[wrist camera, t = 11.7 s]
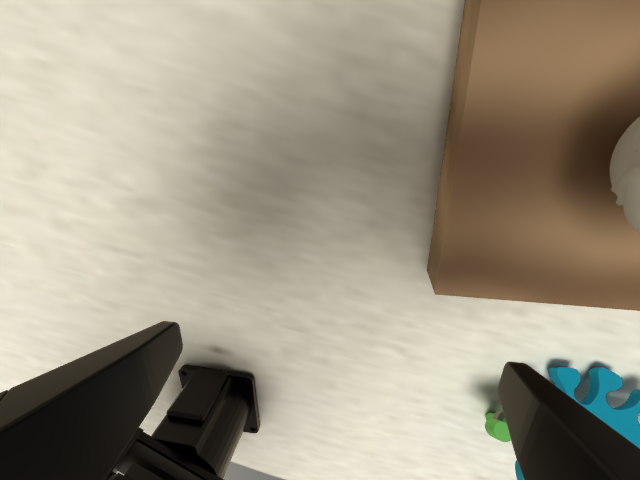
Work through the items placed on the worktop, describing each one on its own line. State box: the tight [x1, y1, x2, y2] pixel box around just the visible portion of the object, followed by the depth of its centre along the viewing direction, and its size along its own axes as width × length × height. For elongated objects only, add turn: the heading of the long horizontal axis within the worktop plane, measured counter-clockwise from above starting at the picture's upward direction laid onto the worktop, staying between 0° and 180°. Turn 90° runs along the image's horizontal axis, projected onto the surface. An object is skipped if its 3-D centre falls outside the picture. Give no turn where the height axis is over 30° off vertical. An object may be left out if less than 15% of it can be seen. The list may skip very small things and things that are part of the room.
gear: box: [485, 367, 640, 480], centre depth 19 cm, size 11×6×10 cm
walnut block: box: [427, 0, 640, 311], centre depth 14 cm, size 15×15×4 cm
